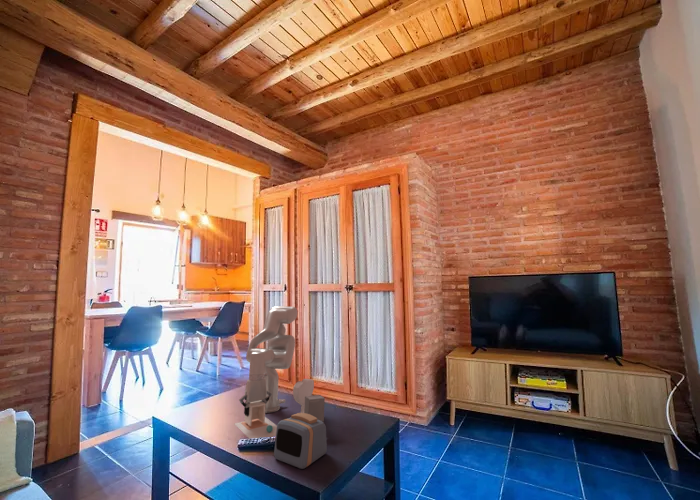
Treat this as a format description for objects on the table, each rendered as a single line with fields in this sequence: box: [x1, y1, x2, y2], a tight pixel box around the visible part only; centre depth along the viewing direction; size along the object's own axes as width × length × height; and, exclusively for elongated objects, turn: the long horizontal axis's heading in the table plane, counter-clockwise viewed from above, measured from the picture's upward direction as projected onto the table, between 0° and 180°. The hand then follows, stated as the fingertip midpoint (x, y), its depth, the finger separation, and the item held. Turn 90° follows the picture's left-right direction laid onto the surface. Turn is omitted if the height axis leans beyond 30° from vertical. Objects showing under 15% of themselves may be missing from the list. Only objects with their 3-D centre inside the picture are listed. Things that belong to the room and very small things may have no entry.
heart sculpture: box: [292, 378, 315, 413], centre depth 176 cm, size 16×5×18 cm, turn 156°
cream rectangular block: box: [244, 400, 266, 426], centre depth 162 cm, size 7×7×9 cm
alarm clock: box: [273, 412, 328, 470], centre depth 133 cm, size 16×16×16 cm
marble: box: [266, 425, 273, 432], centre depth 153 cm, size 3×3×3 cm
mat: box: [234, 416, 277, 440], centre depth 156 cm, size 16×26×1 cm, turn 39°
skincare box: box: [304, 394, 326, 424], centre depth 157 cm, size 8×7×16 cm
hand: (254, 413), depth 162 cm, fingers open, 7 cm apart
